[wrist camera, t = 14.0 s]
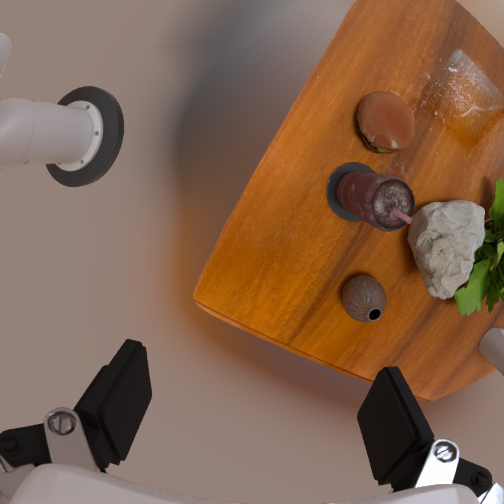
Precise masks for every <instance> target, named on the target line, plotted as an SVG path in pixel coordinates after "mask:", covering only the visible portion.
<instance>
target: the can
mask: <svg viewBox="0 0 504 504" xmlns="http://www.w3.org/2000/svg"><path fill="white" fill-rule="evenodd" d="M336 196H337V200H338V202H339V204H340V205H341V206H342V207H343V208H344V209H345V210H347V211H349V212H351V213H352V214H354V215H356V216H357V217H359V218H361V219H363V220H364V221H366V222H368V223H369V224H371V225H373V226H374V227H376V228H378V229H380V230H381V231H387V232H391V231H396V230H398V229H401V228H402V227H404V226H406V224H407V223H408V224H410V223H411V222H412V219H411V218H412V216H413V214H414V209H415V198H414V195H413V192H412V190H411V189H410V187H409V186H408V184H407V183H406V182H405V181H404V180H403V179H401V178H400V177H398V176H393V175H387V174H378V173H367V172H356V171H355V172H349V173H347V174H345V175H344V176H343V177H342V178H341V179H340V180H339V182H338V184H337V187H336Z"/></svg>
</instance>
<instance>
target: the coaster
mask: <svg viewBox="0 0 504 504" xmlns="http://www.w3.org/2000/svg"><path fill="white" fill-rule="evenodd" d="M355 171H356V172H367V173H375V172H374V171H373V170H372V169H371V168H370V167H368V166H367V165H365V164H362V163H357V162H351V163H346V164H343V165H341V166H340V167H338V168H337V169H336V170H335V171H334V172H333V173H332V175H331V176H330V178H329V180H328V183H327V190H326V193H327V199H328V203H329V205H330V207H331V208H332V210H333V211H334V212H335V213H336V214H337V215H338V216H339V217H341V218H343V219H345V220H348V221H353V222H356V221H362V220H363V219H361V218H359V217H357V216H356V215H354V214H352V213H351V212H349V211H347V210H345V209H344V208H343V207H342V206H341V205H340V204H339V202H338V200H337V196H336V187H337V184H338V182H339V180H340V179H341V178H342V177H343V176H344V175H345V174H347V173H349V172H355Z"/></svg>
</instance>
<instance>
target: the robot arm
mask: <svg viewBox="0 0 504 504" xmlns="http://www.w3.org/2000/svg"><path fill="white" fill-rule="evenodd" d="M11 51H12V42H11V40H10V38H9V37H8V36H6V35H5V34H2V33H1V32H0V80H1V78H2V75H3V72H4V70H5V67H6V65H7V63H8V60H9V58H10V54H11ZM102 138H103V119H102V116H101V113H100V112H99V110H98V108H97V107H96V106H95V105H93V104H91V103H90V102H86V101H75V102H73V103H70V104H69V105H67V106H62V105H57V104H52V103H46V102H41V101H35V100H28V99H22V98H10V99H6V100H3V101H0V169H6V168H15V167H23V166H32V165H42V164H54V163H55V164H56V165H57V166H58V167H59V168H61V169H63V170H65V171H76V170H80V169H82V168H84V167H85V166H86V165H88V164H89V163H90V162H91V161H92V160H93V158H94V157H95V155H96V154H97V152H98V150H99V148H100V145H101V142H102ZM151 398H152V389H151V382H150V376H149V368H148V360H147V352H146V347H144V346H142V343H141V342H139V341H135V340H131V339H127V340H126V341H125V342H124V343H123V345H122V346H121V348H120V349H119V350H118V352H117V354H116V355H115V356H114V358H113V359H112V361H111V362H110V363H109V365H105V366H103V367H102V368H101V370H100V371H99V372H98V374H97V375H96V377H95V378H94V380H93V381H92V382H91V384H90V385H89V387H88V388H87V390H86V391H85V393H84V394H83V396H82V397H81V398H80V400H79V401H78V403H77V405H76V406H75V407H74V409H73V410H71V409H69V408H65V407H62V408H61V407H60V408H55V409H53V410H51V411H50V412H48V414H47V415H46V416H45V419H44V423H42V424H38V425H33V426H27V427H21V428H15V429H9V430H5V431H3V432H2V433H1V434H0V504H242V503H231V502H222V501H215V500H208V499H202V498H195V497H190V496H185V495H180V494H176V493H171V492H167V491H163V490H159V489H155V488H151V487H148V486H144V485H140V484H137V483H134V482H130V481H127V480H124V479H121V478H118V477H114V476H111V475H109V474H108V472H107V470H106V468H108V466H109V464H110V463H112V464H115V465H119V463H120V461H121V460H122V461H124V460H125V459H126V457H127V455H128V452H129V450H130V447H131V445H132V443H133V440H134V438H135V436H136V433H137V431H138V429H139V426H140V423H141V421H142V419H143V417H144V415H145V412H146V410H147V408H148V405H149V403H150V401H151ZM357 420H358V423H359V426H360V430H361V433H362V437H363V440H364V444H365V447H366V451H367V455H368V458H369V462H370V466H371V469H372V473H373V477H374V479H375V480H377V481H378V484H379V486H380V485H385V484H391V486H392V488H391V490H390V491H389V493H388V494H385V495H380V496H375V497H369V498H364V499H358V500H351V501H343V502H334V503H325V504H504V489H503V488H502V487H501V486H500V485H498V484H497V483H496V482H495V483H494V484H492V475H491V473H490V472H489V471H488V470H487V469H486V468H483V467H481V466H479V465H476V464H474V463H471V462H469V461H466V460H464V459H462V458H460V451H459V448H458V446H457V445H456V444H455V443H454V442H453V441H451V440H450V439H446V438H441V439H438V440H436V441H435V440H434V434H433V432H432V430H431V428H430V426H429V424H428V422H427V421H426V418H425V417H424V414H423V412H422V410H421V409H420V407H419V405H418V403H417V401H416V399H415V397H414V395H413V393H412V391H411V390H410V388H409V386H408V384H407V382H406V380H405V379H404V377H403V375H402V373H401V371H400V370H399V368H398V367H396V366H395V367H384V368H383V369H382V370H380V371H379V372H378V374H377V376H376V378H375V380H374V382H373V384H372V386H371V389H370V390H369V393H368V394H367V397H366V398H365V400H364V402H363V404H362V406H361V408H360V410H359V411H358V414H357Z"/></svg>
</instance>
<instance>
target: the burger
mask: <svg viewBox="0 0 504 504" xmlns="http://www.w3.org/2000/svg"><path fill="white" fill-rule="evenodd" d="M356 121H357V125H358V126H357V127H358V129H359V135H360V137H361V138H363V139H364V141H365V142H366V143H367V144H366V145H367V147H368V148H369V149H370V150H374V151H375V152H381V153H386V152H387V153H388V152H393V151H400V150H404V149H405V148H406V147H407V146H408V145H409V144H410V143H411V141H412V139H413V137H414V134H415V119H414V115H413V112H412V110H411V108H410V107H409V105H408V104H407V103H406V102H405V101H404V100H403V99H402V98H401V97H399V96H398V95H396V94H394V93H391V92H374V93H371V94H368V95H366V96H365V97H364V98H363V100H362V102H361V103H360V106H359V110H358V112H357V114H356Z"/></svg>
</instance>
